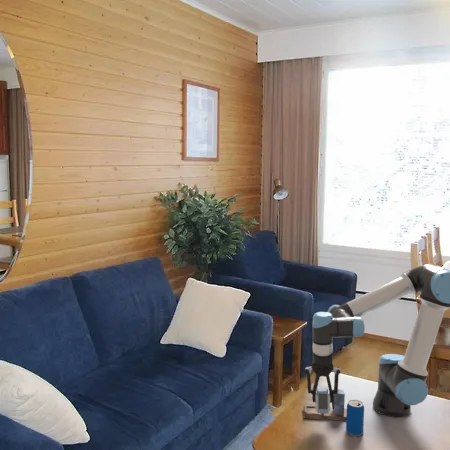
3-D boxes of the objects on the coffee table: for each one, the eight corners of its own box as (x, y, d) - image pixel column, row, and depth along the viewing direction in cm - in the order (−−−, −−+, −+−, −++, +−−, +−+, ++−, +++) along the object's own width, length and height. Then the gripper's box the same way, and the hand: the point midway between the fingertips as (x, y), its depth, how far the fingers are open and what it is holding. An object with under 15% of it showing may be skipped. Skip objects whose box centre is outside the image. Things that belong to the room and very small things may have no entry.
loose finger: (317, 408, 202) (317, 386, 200) (327, 408, 201) (327, 386, 200) (317, 413, 197) (317, 391, 196) (328, 414, 197) (328, 392, 195)
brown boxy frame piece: (347, 412, 212) (348, 388, 211) (349, 420, 205) (350, 396, 204) (303, 409, 214) (304, 385, 213) (304, 418, 207) (304, 393, 206)
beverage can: (360, 438, 192) (361, 408, 191) (343, 434, 196) (344, 404, 194) (365, 431, 198) (366, 401, 196) (349, 426, 201) (350, 397, 199)
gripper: (344, 349, 199) (343, 405, 202) (299, 348, 201) (300, 404, 204) (346, 356, 192) (346, 415, 195) (300, 355, 194) (300, 413, 197)
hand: (322, 409), depth 199 cm, fingers closed on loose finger, 4 cm apart
